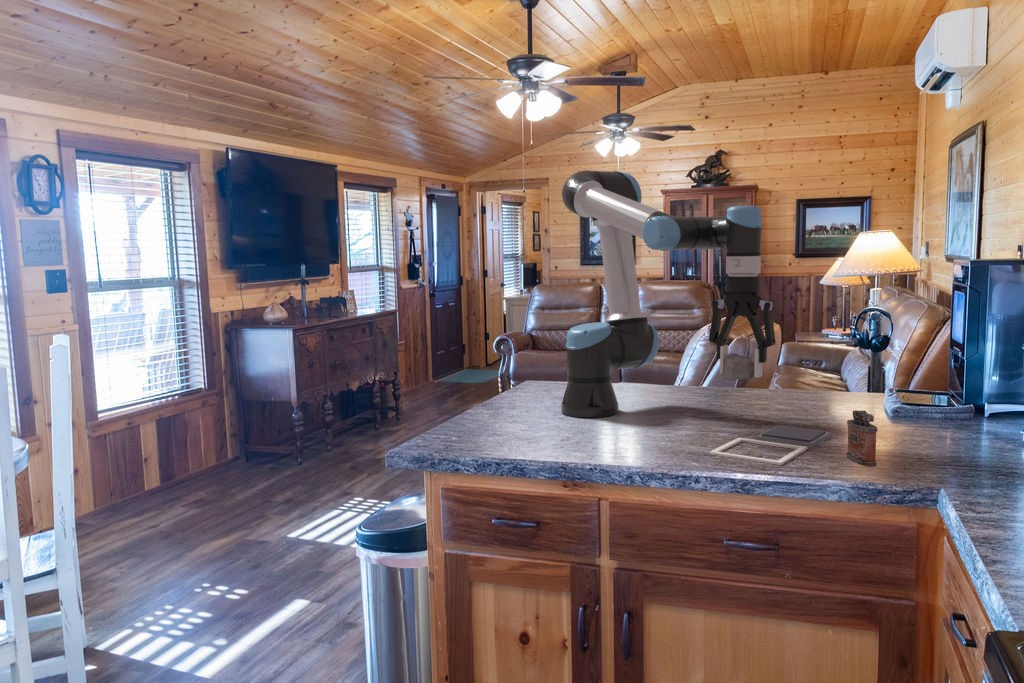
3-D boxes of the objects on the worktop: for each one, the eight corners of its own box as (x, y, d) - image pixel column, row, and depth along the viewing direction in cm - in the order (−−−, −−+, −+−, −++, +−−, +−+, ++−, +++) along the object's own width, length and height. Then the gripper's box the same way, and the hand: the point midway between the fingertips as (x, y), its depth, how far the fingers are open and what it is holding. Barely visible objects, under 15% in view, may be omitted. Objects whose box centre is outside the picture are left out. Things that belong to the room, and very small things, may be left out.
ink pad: (756, 440, 168) (756, 434, 168) (776, 430, 177) (777, 424, 177) (812, 448, 161) (812, 441, 160) (830, 436, 170) (830, 430, 170)
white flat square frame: (709, 454, 158) (708, 451, 158) (738, 439, 169) (738, 437, 169) (781, 465, 148) (781, 462, 148) (807, 449, 160) (807, 446, 160)
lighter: (842, 456, 154) (843, 407, 152) (858, 455, 154) (859, 406, 153) (863, 467, 146) (865, 415, 145) (880, 466, 146) (882, 415, 145)
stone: (745, 383, 169) (746, 357, 168) (712, 379, 175) (713, 354, 174) (766, 377, 176) (766, 352, 175) (733, 373, 182) (734, 349, 181)
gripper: (693, 275, 176) (692, 373, 179) (781, 276, 163) (778, 381, 166) (708, 274, 182) (706, 368, 185) (794, 275, 169) (791, 377, 172)
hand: (740, 374), depth 175 cm, fingers closed on stone, 7 cm apart
